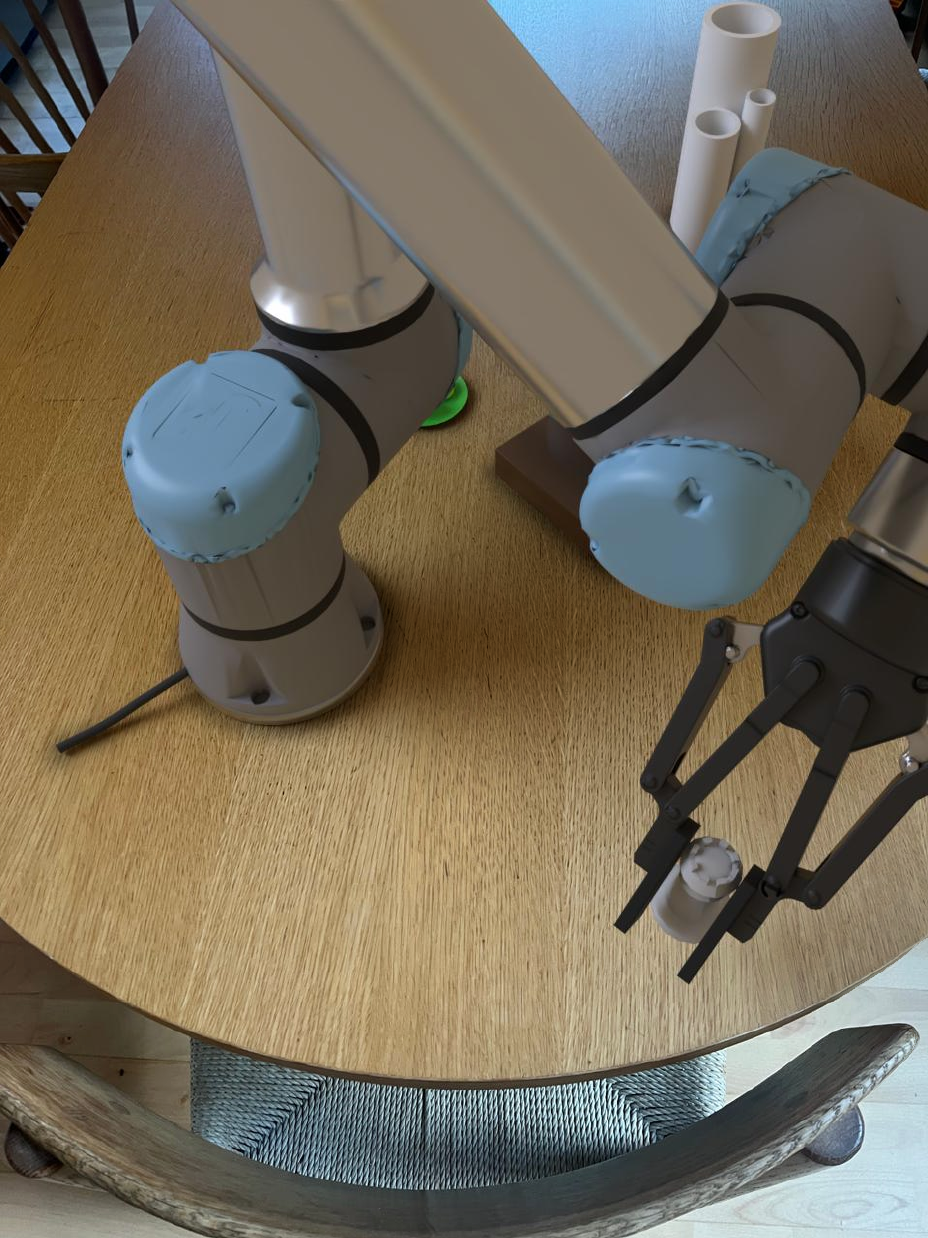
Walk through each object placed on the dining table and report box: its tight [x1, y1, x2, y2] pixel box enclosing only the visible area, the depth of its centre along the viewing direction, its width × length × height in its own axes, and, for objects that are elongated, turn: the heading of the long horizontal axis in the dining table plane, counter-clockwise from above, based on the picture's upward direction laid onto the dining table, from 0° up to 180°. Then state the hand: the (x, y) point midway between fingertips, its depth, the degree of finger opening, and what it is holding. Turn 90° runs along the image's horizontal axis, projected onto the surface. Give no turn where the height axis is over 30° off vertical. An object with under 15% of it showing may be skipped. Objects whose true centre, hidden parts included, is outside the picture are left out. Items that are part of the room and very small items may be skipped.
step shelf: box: [494, 411, 600, 564], centre depth 79 cm, size 18×14×11 cm
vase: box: [669, 0, 782, 256], centre depth 92 cm, size 11×7×20 cm, turn 172°
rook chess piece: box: [649, 835, 744, 945], centre depth 53 cm, size 4×4×8 cm
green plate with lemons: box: [420, 375, 468, 427], centre depth 88 cm, size 8×8×3 cm
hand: (658, 944), depth 53 cm, fingers closed on rook chess piece, 3 cm apart
